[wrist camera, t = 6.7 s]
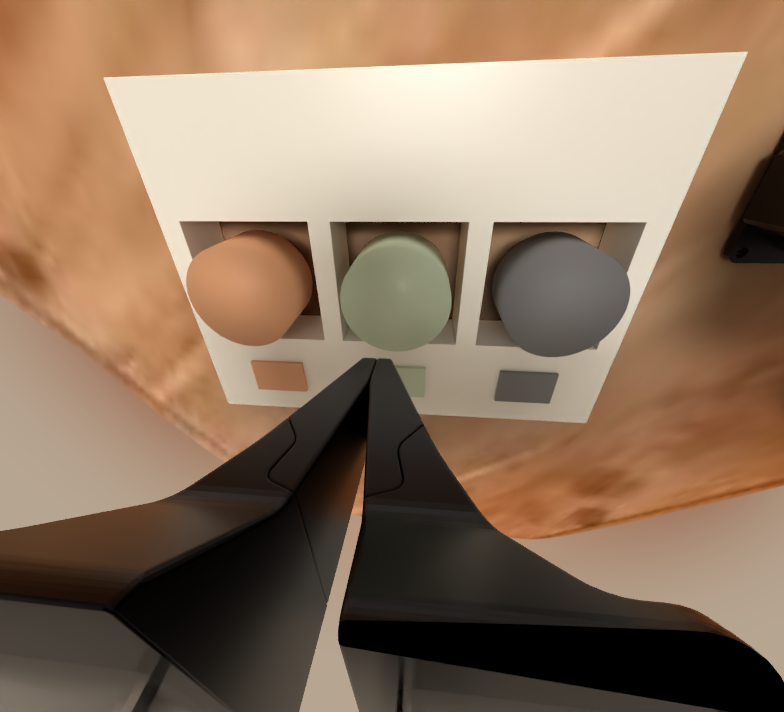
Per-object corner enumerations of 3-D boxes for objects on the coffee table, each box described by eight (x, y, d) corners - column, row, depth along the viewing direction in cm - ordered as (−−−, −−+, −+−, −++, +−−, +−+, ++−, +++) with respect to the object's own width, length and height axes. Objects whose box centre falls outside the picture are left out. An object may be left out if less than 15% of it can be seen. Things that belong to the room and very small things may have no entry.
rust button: (304, 230, 15) (280, 246, 13) (318, 320, 18) (300, 347, 15) (210, 229, 16) (168, 244, 13) (237, 317, 18) (206, 344, 16)
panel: (683, 71, 12) (753, 49, 10) (567, 390, 21) (587, 425, 18) (160, 90, 14) (98, 76, 12) (250, 376, 23) (227, 405, 20)
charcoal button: (611, 231, 14) (651, 249, 12) (578, 328, 17) (605, 359, 14) (500, 231, 14) (516, 248, 12) (485, 325, 17) (495, 355, 15)
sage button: (451, 230, 15) (456, 247, 12) (444, 324, 17) (447, 353, 15) (349, 230, 15) (334, 246, 13) (356, 321, 18) (345, 349, 15)
